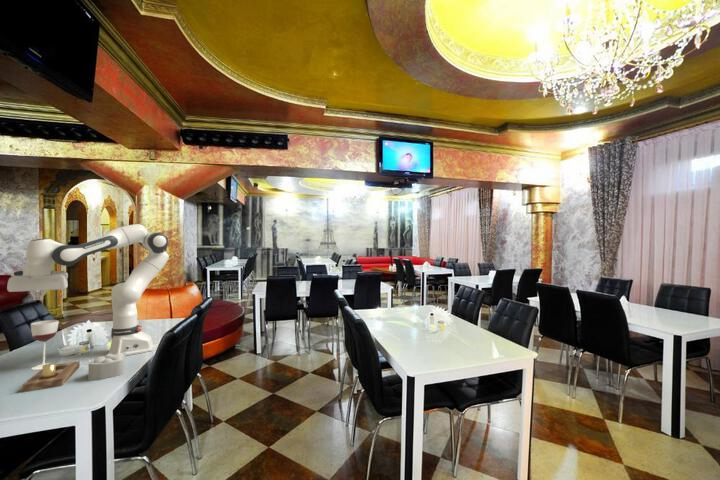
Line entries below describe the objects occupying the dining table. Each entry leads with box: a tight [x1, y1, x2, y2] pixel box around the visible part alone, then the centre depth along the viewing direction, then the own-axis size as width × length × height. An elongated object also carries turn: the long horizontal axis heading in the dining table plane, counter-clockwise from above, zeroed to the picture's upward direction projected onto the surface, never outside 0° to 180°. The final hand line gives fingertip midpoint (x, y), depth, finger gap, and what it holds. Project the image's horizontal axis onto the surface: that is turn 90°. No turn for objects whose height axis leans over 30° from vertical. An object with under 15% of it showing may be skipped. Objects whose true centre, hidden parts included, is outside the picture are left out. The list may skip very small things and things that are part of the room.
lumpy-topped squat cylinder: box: [87, 353, 126, 381], centre depth 139 cm, size 10×13×9 cm
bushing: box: [41, 362, 56, 379], centre depth 130 cm, size 4×4×8 cm
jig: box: [22, 360, 81, 393], centre depth 134 cm, size 12×22×3 cm, turn 29°
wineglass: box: [30, 319, 59, 371], centre depth 148 cm, size 9×10×22 cm
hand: (38, 299), depth 144 cm, fingers closed
